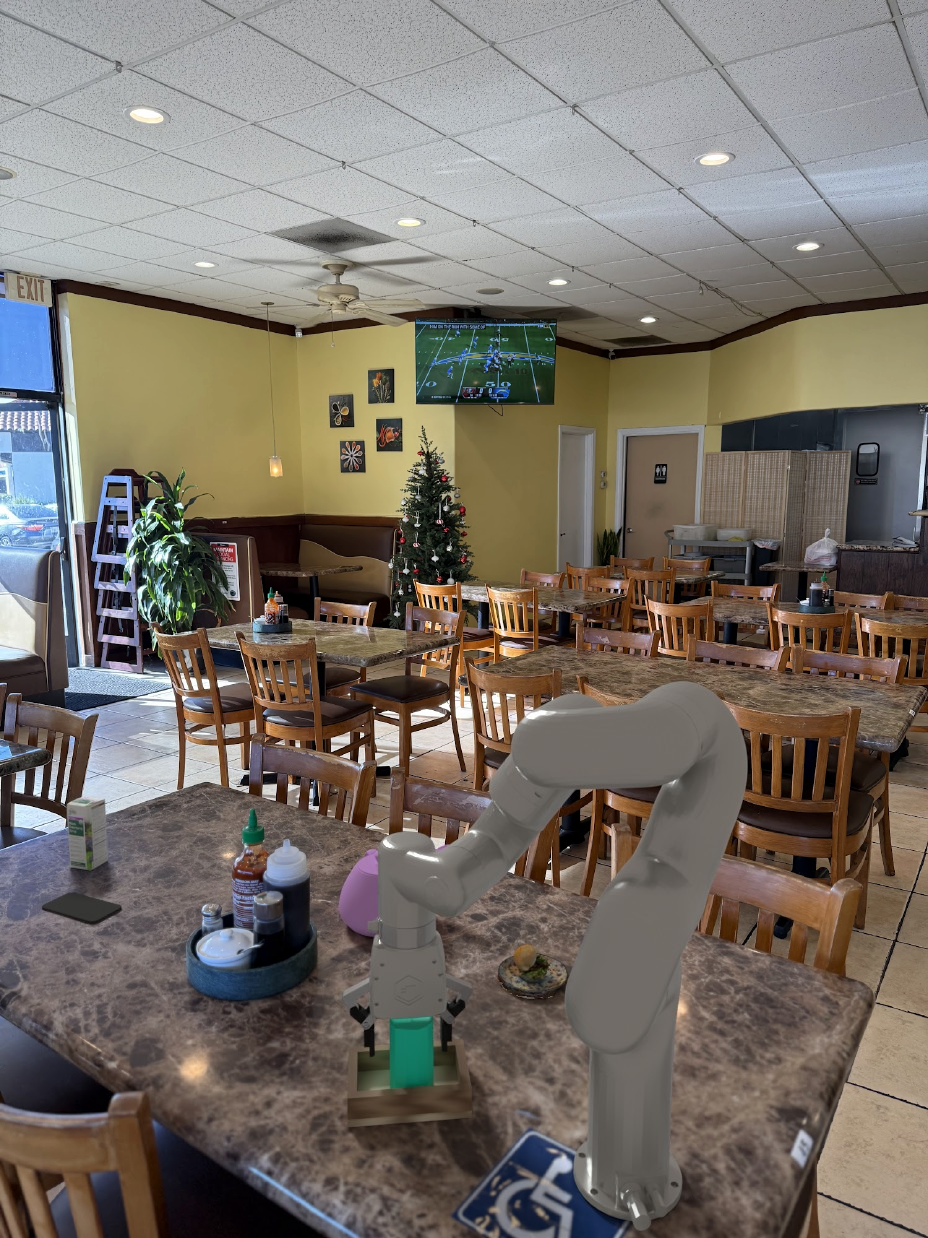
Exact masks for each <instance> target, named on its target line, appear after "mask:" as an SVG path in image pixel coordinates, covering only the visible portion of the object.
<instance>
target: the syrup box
mask: <svg viewBox="0 0 928 1238" xmlns="http://www.w3.org/2000/svg"><path fill="white" fill-rule="evenodd" d="M106 813H107V811H106V798H99V797H98V798H96V797H88V796H82V797H79V798H78V797H77V798H76V799H74V800H71V801H70V802H68V803H66V818H67V833H68V848H69V850H68V851H69V852H68V853H69V867H70V868H71V869H72V868H73V869H80V870H85V871H90V872H91V871H92V870H93V871H94V870H95V869H97V868H98V867H100V866H101V865H103V864H105V863H106V862H108V861H109V856H108V855H109V853H108V834H107V833H108V832H107V829H108V828H107V816H106V815H107V814H106Z"/></svg>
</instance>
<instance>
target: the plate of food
mask: <svg viewBox="0 0 928 1238" xmlns="http://www.w3.org/2000/svg"><path fill="white" fill-rule="evenodd" d="M516 942H517V944H518V948H516V950H514V951H515V952H514V953H513V955H511V956H509V957H506V958H505V959H504V960H502V961H501V962H500V964H499V966H498V967H497V976H496V977H497V979H498V980H499V982H502V983H503V984H502V985H503V987H504V988H505V989H507V991H505V992H506V993H508V994H509V993H512V994H510V995H511V996H514V995H518V996H527V997H534V998H540V997H543V998H546V999H547V998H548V997H550V996H553V997H554V995H555V993H556V991H557V990H558V989H560V988H562V987H563V986H564V985H565V984H566V982H567V980H568V979H569V974H568V973H569V971H568V969H567V967H566V966H565V964H564V963H562V962H561V961H560V960H558V959H556V958H554V957H551V956H549V955H547V954H543V953H538V952H537V949H536V948H535V946H533V945H530V944H524V945H521V946H520V944H519V941H518V940H516ZM550 970H551V971H550ZM497 979H496V980H497ZM498 980H497V981H498Z"/></svg>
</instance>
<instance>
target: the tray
mask: <svg viewBox="0 0 928 1238" xmlns="http://www.w3.org/2000/svg"><path fill="white" fill-rule="evenodd" d="M467 1059H468V1058H467V1055H466V1048H465V1043H464V1039H463V1038H461V1039H452V1042H447V1052H443V1051H442V1048H441V1040H433V1073H434V1086H423V1087H409V1088H396V1089H390V1043H388V1044H375V1056H373V1057H370V1056H369V1047H365V1048H364V1045H358V1046H348V1065H347V1066H348V1067H347V1094H346V1095H347V1097H346V1099H347V1100H346V1102H347V1103H346V1104H347V1109H346V1110H347V1128H357V1127H367V1126H379V1125H380V1126H381V1125H395V1124H404V1123H405V1124H407V1123H419V1122H432V1121H444V1120H447V1121H448V1120H457V1119H458V1120H459V1119H470V1118H473V1110H472V1109H473V1108H472V1107H473V1106H472V1105H473V1102H472V1101H473V1088H472V1083H471V1077H470V1071H469V1066H468V1061H467Z"/></svg>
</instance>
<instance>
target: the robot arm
mask: <svg viewBox="0 0 928 1238" xmlns="http://www.w3.org/2000/svg"><path fill="white" fill-rule="evenodd" d="M510 743H511V745H510V751H511V752H510V754H509V755H508V756H507V757H506V758H505V760H503V762H502V763H501V765H500V766H499V768H498V769H497V770H496V771H495V772H494V773H493V775H492V776H491V778H490V781H489V784H488V785H489V786H488V791H489V795H490V797H491V801H490V802H489V804H488V805H487V807H486V808H485V809H484V811H483V812H482V813H481V815H480V816H479V817H478V818H477V820H476V821H475V822H474V823H473V824H472V826H471V827H470V828H469V829H468V830H467V832H465V834H464V833H463V835H462V836H460V837H459V838H458V839H456V840H455V841H453V842H451V843H450V844H449V846H448V847H446V848H445V849H443V850H440V851H437V852H435V850H436V846H435V843H434V841H433V840H432V838H431V837H430V836H428V835H426V834H424V833H421V832H415V831H400V832H395V833H391V834H389V835H387V836H385V838H383V839H382V840H381V841H380V843H379V845H378V849H377V850H378V916H379V918H378V917H376V920H373V921H368V932H373V933H376V935H375V937H373V941H372V947H371V951H370V952H371V953H370V963H369V974H368V975H369V976H368V977H367V978H365V979H363V980H362V981H359V982H357V983H356V984H355V985H352V986H350V987H348V988H347V989H345V990H343V991H342V993H341V1001H342V1003H343V1004H344V1006H345V1008H346V1010H347V1011H348V1012H349V1015H350V1017H351V1018H353V1019H354V1020H355V1021H356V1022H357V1023H359V1025H360V1026H361V1028H362V1029H363V1046H364V1048H365V1047H369V1056H370V1057H373V1056H375V1045H376V1044H375V1043H376V1042H375V1041H376V1040H375V1038H376V1037H375V1022H376V1021H377V1020H389V1019H405V1018H420V1017H432V1016H433V1017H437V1016H439V1023H440V1024H439V1028H440V1029H439V1031H440V1032H439V1041H441V1048H442V1051H443V1052H447V1042H452V1040H453V1023H455V1021H456V1018H457V1017H458V1016H459V1015H460V1014H461V1013H462V1011H464V1010H465V1009H466V1006H467V1004H468V1002H469V1000H470V998H471V996H472V995H473V992H474V991H473V984H472V983H470V982H468V981H465V980H463V979H461V978H458V977H456V976H454V975H452V974H450V973H447V969H446V955H445V949H444V943H443V939H442V937H441V934H440V933H439V931H438V930H437V918H436V917H437V916H436V915H438V916H440V917H445V918H454V917H458V916H460V915H462V914H464V913H465V912H466V911H468V910H469V909H470V908H471V907H472V906H473V905H474V904H475V903H477V902H478V901H479V900H480V899H481V898H482V897H483V896H484V895H485V894H487V893H488V891H490V890H491V889H492V888H494V887H495V886H496V885H497V884H498V883H499V882H501V881H502V879H504V877H505V876H506V875H507V874H508V872H510V870H511V869H512V868H513V867H514V866H515V864H516V863H517V862H518V861H519V860H520V858H521V857H522V856H523V855H524V854H525V852H526V851H527V850H528V849H529V848H530V846H531V845H532V844H533V843H534V841H535V840H536V839H537V837H538V836H539V835H540V834H541V832H542V831H544V829H545V828H546V826H547V825H548V824H549V823H550V821H551V820H552V819H553V818H554V816H555V815H556V814H557V813H558V811H559V810H560V809H561V808H562V806H564V804H565V802H567V800H568V799H569V798H570V796H571V795H572V794H573V793H574V792H575V791H576V790H600V789H601V790H606V789H607V790H609V789H610V790H611V789H635V788H652V787H653V788H654V787H659V786H661V788H660V790H659V791H658V794H657V796H656V798H655V801H654V803H653V806H652V807H651V810H650V815H649V817H648V818H649V819H648V821H647V823H646V825H645V828H644V831H643V833H642V835H641V838H640V840H639V842H638V845H637V847H636V848H635V851H634V852H633V854H632V855H631V857H630V858H629V859H628V860H627V862H626V863H624V865H623V866H622V867H621V868H620V870H619V871H618V872H617V874H616V875H614V877H613V878H612V880H611V881H610V882H609V883H608V885H606V887H605V889H604V890H603V892H602V893H601V895H600V897H599V899H598V901H597V903H596V905H595V907H594V910H593V912H592V914H591V918H590V919H589V921H588V925H587V927H586V931H585V933H584V936H583V939H582V941H581V944H580V946H579V948H578V952H577V954H576V957H575V959H574V960H575V961H574V963H573V966H572V968H571V970H570V974H569V975H568V978H567V981H566V982H567V983H566V986H565V991H564V1009H565V1013H566V1017H567V1020H568V1023H569V1025H570V1027H571V1029H572V1031H573V1032H574V1034H575V1035H576V1037H577V1038H578V1039H579V1041H581V1042H582V1043H583V1044H584V1045H586V1047H588V1048H589V1057H588V1058H589V1063H588V1064H589V1065H588V1067H589V1068H588V1098H587V1099H588V1102H587V1103H588V1104H587V1106H588V1108H587V1140H585V1141H583V1143H582V1144H581V1145H580V1146H579V1147H578V1149H577V1150H576V1152H575V1154H574V1159H573V1178H574V1183H575V1185H576V1186H577V1189H578V1191H579V1192H580V1194H581V1195H582V1196H583V1198H584V1199H585V1200H586V1201H587V1202H589V1204H590V1205H591V1206H593V1207H595V1208H596V1209H597V1210H599V1211H601V1212H603V1213H604V1214H606V1215H608V1216H610V1217H614V1218H617V1219H620V1220H625V1221H629V1222H630V1221H631V1222H632V1224H633V1226H634V1228H635V1230H637V1231H640V1232H641V1231H644V1232H645V1230H647V1229H649V1228H650V1226H651V1224H652V1220H654V1219H659V1218H664V1217H666V1216H667V1214H668V1213H670V1212H671V1211H672V1210H673V1209H674V1208H675V1207H676V1206H677V1204H678V1202H679V1201H680V1199H681V1195H682V1191H683V1175H682V1174H683V1173H682V1171H681V1168H680V1166H679V1164H678V1162H677V1160H676V1159H675V1157H674V1156H673V1154H671V1128H672V1124H671V1123H672V1103H673V1100H672V1099H673V1082H674V1081H673V1079H674V1078H673V1077H674V1076H673V1075H674V1065H675V1064H674V1063H675V1062H674V1061H675V1043H676V1042H675V1040H676V1027H677V1017H678V1010H679V1003H680V995H681V987H682V974H683V973H682V972H683V971H682V970H683V969H682V967H683V966H682V959H681V958H682V956H683V954H684V953H685V952H684V951H685V950H686V947H687V945H688V944H689V942H690V940H691V937H693V935H694V932H695V931H696V929H697V927H698V925H699V924H700V921H701V919H702V917H703V914H704V911H705V909H706V906H707V902H708V898H709V895H710V891H711V888H712V885H713V884H714V883H713V882H714V880H715V876H716V874H717V872H718V869H719V867H720V865H721V862H722V859H723V857H724V855H725V852H726V849H727V846H728V843H729V840H730V837H731V834H732V832H733V829H734V827H735V824H736V822H737V820H738V816H739V814H740V810H741V808H742V804H743V800H744V797H745V792H746V788H747V787H746V786H747V780H748V754H747V746H746V742H745V738H744V735H743V732H742V729H741V727H740V725H739V722H738V721H737V719H736V717H735V715H734V714H733V712H732V711H731V709H730V708H729V707H728V706H727V704H726V703H725V702H724V701H723V700H722V699H721V698H720V697H719V696H718V695H717V694H716V693H715V692H714V691H712V690H711V689H709V688H707V687H706V686H704V685H702V684H699V683H698V682H697V683H696V682H692V681H684V680H683V681H681V680H680V681H673V682H669V683H666V684H662V685H660V686H658V687H657V688H655V689H653V690H652V691H650V692H649V693H647V694H646V695H645V696H643V697H642V698H640V699H638V700H637V701H636V702H634V703H629V704H618V705H617V704H616V705H608V706H604V705H603V703H601V702H600V701H598V700H597V699H596V698H594V697H592V696H590V695H588V694H583V693H567V694H563V695H560V696H558V697H556V698H553V699H552V700H550V701H548V702H546V703H544V704H542V705H541V706H539V707H536V708H535V709H533V710H531V711H530V712H528V713H527V714H526V715H525V716H524V717H523V718H522V719H521V720H520V721H519V723H518V724H517V726H516V727H515V730H514V732H513V734H512V738H511V742H510ZM447 989H450V990H452V991H454V992H457V993H458V995H456V996H455V998H454V999H453V1000H451V1001H450V1002H449V1000H448V990H447ZM367 994H368V1004H367V1005H366V1006H365V1007H363V1005H361V1004H360V1003H359V1002H357V999H359V998H361V997H363V996H364V995H367Z"/></svg>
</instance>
